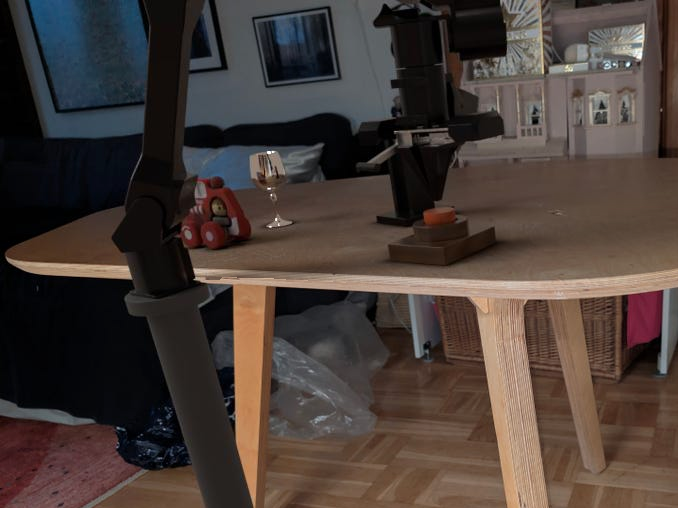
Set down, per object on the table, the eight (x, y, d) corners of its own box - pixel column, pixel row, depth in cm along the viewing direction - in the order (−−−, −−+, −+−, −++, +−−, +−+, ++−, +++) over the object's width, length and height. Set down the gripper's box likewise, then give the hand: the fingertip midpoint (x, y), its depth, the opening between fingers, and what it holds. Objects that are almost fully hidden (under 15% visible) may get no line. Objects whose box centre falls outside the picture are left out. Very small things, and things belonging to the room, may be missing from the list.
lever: (378, 176, 104) (371, 161, 103) (359, 175, 108) (352, 161, 106) (424, 144, 109) (418, 129, 107) (405, 144, 112) (398, 130, 111)
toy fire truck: (229, 250, 106) (211, 180, 102) (176, 247, 112) (158, 181, 108) (263, 239, 111) (248, 172, 107) (211, 237, 117) (195, 173, 113)
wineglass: (255, 228, 120) (238, 156, 116) (276, 220, 125) (261, 151, 121) (282, 228, 118) (266, 154, 114) (302, 220, 123) (288, 149, 118)
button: (443, 228, 87) (441, 214, 86) (418, 227, 89) (416, 213, 88) (462, 221, 90) (460, 207, 89) (438, 220, 92) (436, 206, 91)
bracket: (406, 226, 108) (392, 133, 103) (376, 222, 114) (362, 134, 108) (455, 213, 114) (444, 124, 109) (424, 210, 120) (413, 125, 114)
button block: (445, 265, 84) (441, 232, 83) (390, 260, 89) (385, 229, 88) (496, 242, 92) (493, 212, 91) (442, 239, 97) (439, 210, 96)
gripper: (523, 55, 83) (533, 188, 89) (404, 69, 93) (421, 188, 99) (468, 60, 75) (483, 207, 81) (345, 75, 85) (366, 204, 91)
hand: (437, 200), depth 88 cm, fingers closed
